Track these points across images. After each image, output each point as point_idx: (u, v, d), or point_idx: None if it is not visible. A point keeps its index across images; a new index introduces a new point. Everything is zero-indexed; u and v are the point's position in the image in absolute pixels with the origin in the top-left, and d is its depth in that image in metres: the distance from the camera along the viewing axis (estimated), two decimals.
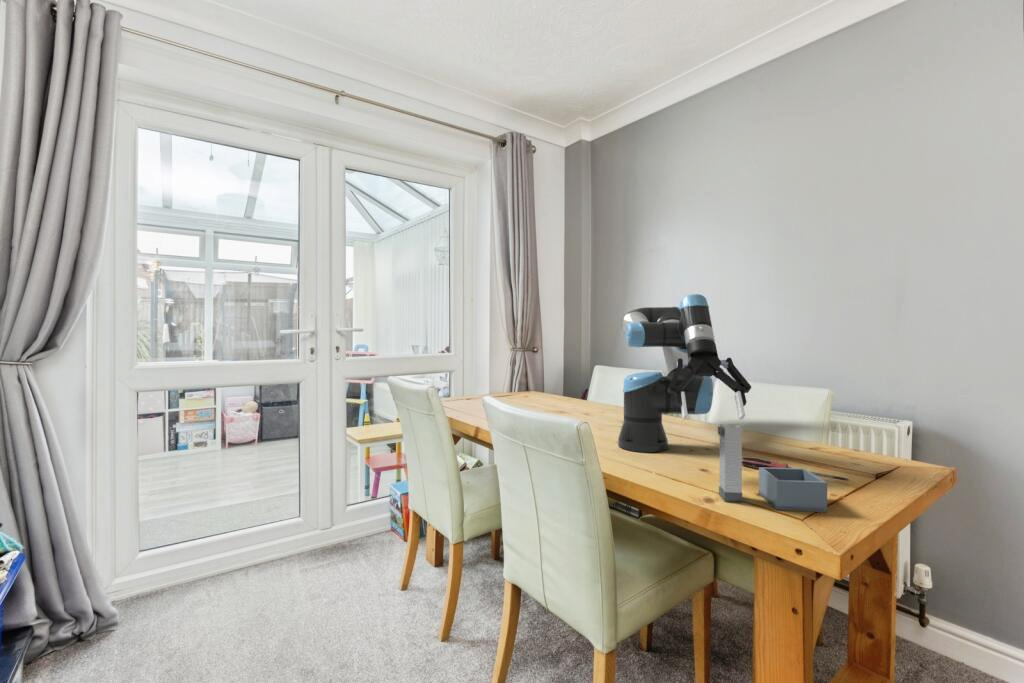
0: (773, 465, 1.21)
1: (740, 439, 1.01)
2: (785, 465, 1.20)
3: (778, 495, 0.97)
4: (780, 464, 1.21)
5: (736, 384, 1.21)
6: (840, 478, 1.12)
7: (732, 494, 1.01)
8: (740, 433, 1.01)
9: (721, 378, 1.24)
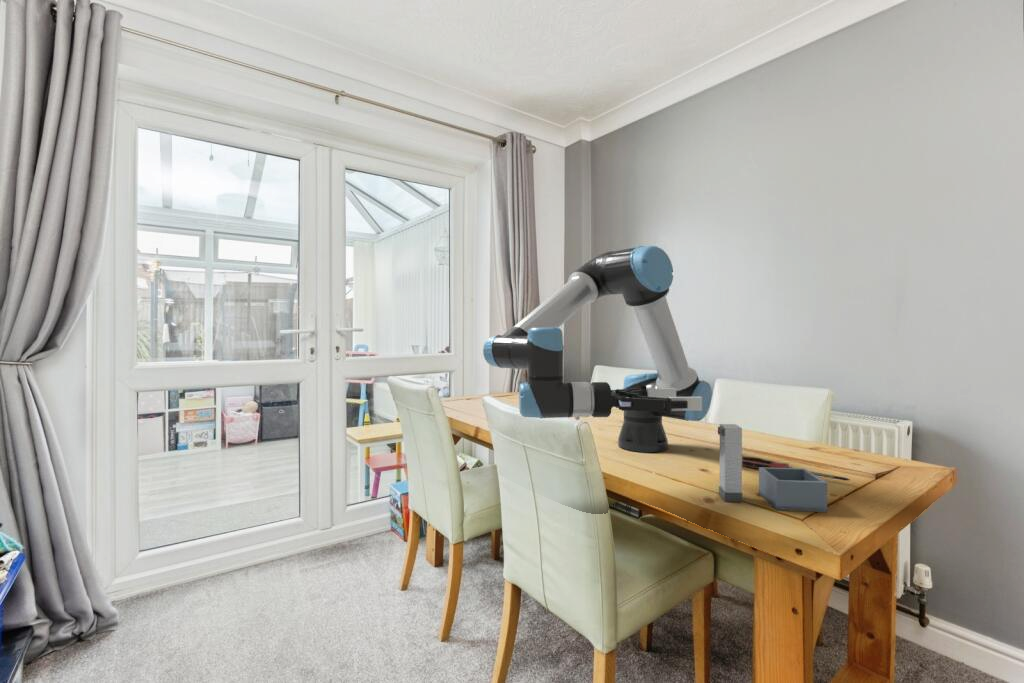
0: (773, 465, 1.21)
1: (740, 439, 1.01)
2: (785, 465, 1.20)
3: (778, 495, 0.97)
4: (780, 464, 1.21)
5: None
6: (841, 478, 1.12)
7: (732, 494, 1.01)
8: (740, 433, 1.01)
9: None
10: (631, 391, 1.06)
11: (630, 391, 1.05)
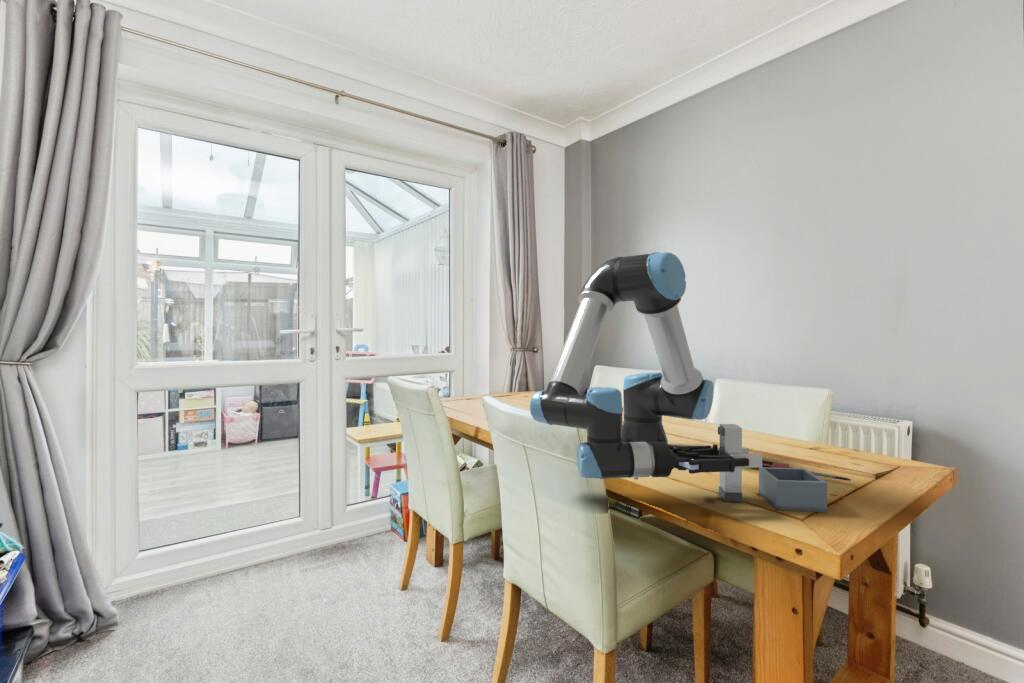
0: (774, 466, 1.21)
1: (740, 439, 1.01)
2: (787, 465, 1.20)
3: (778, 495, 0.97)
4: (781, 465, 1.21)
5: None
6: (842, 478, 1.12)
7: (732, 494, 1.01)
8: (740, 433, 1.01)
9: None
10: (694, 450, 1.05)
11: (692, 450, 1.05)
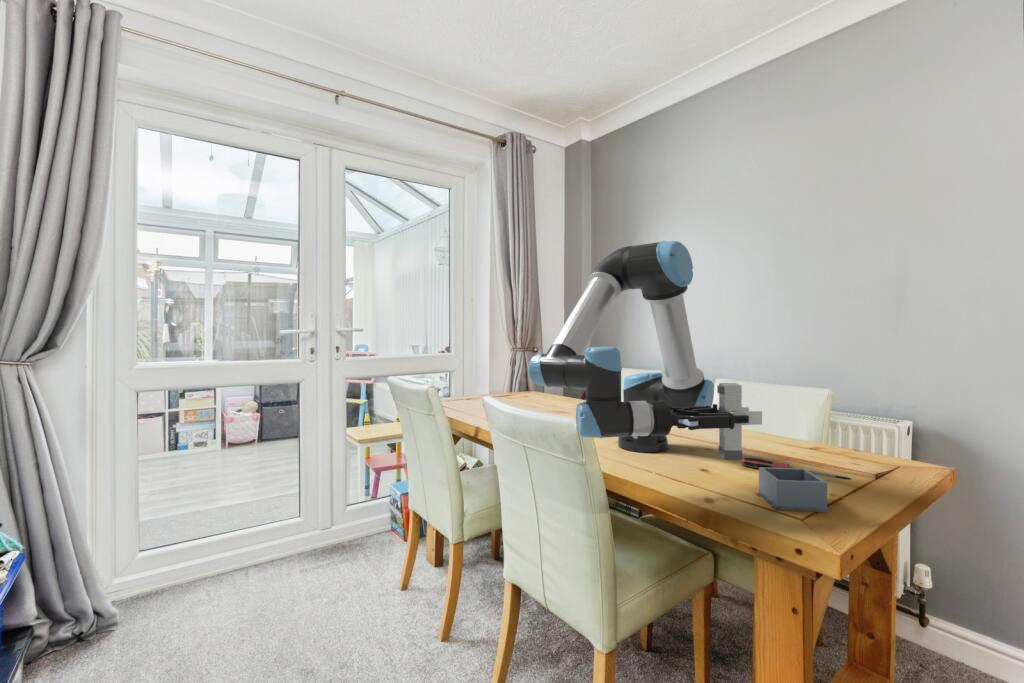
0: (775, 465, 1.21)
1: (740, 397, 1.00)
2: (787, 465, 1.20)
3: (778, 495, 0.97)
4: (782, 464, 1.21)
5: None
6: (842, 477, 1.12)
7: (732, 452, 1.01)
8: (740, 390, 1.00)
9: None
10: (693, 409, 1.04)
11: (691, 409, 1.04)
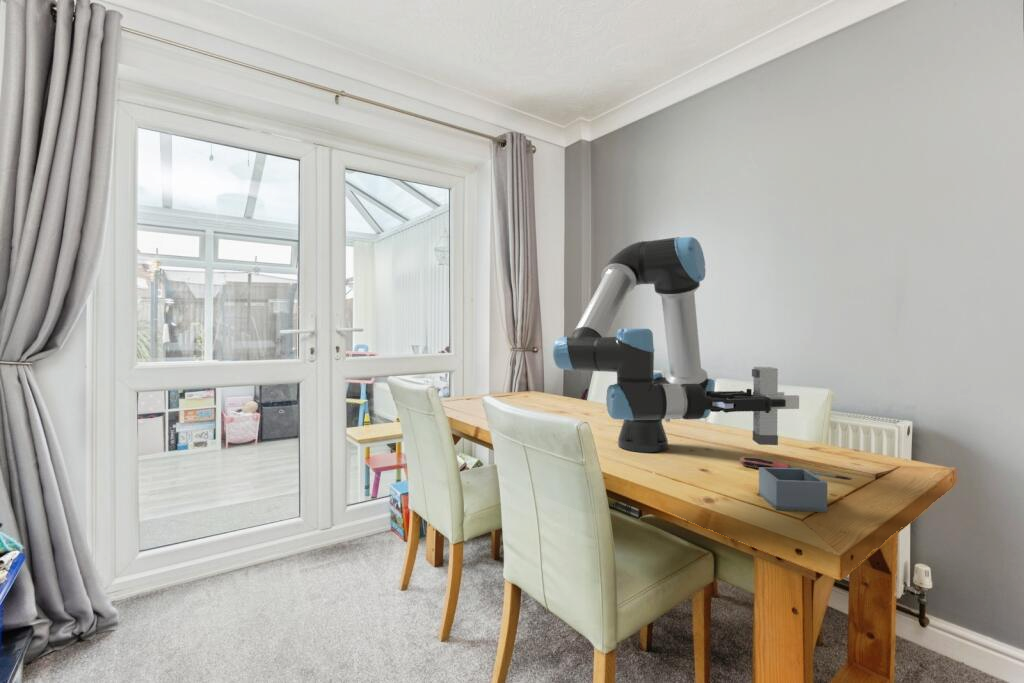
0: (775, 465, 1.21)
1: (776, 380, 0.98)
2: (787, 465, 1.20)
3: (778, 495, 0.97)
4: (782, 464, 1.21)
5: None
6: (842, 477, 1.12)
7: (768, 436, 0.99)
8: (776, 374, 0.98)
9: None
10: (727, 394, 1.02)
11: (725, 393, 1.02)
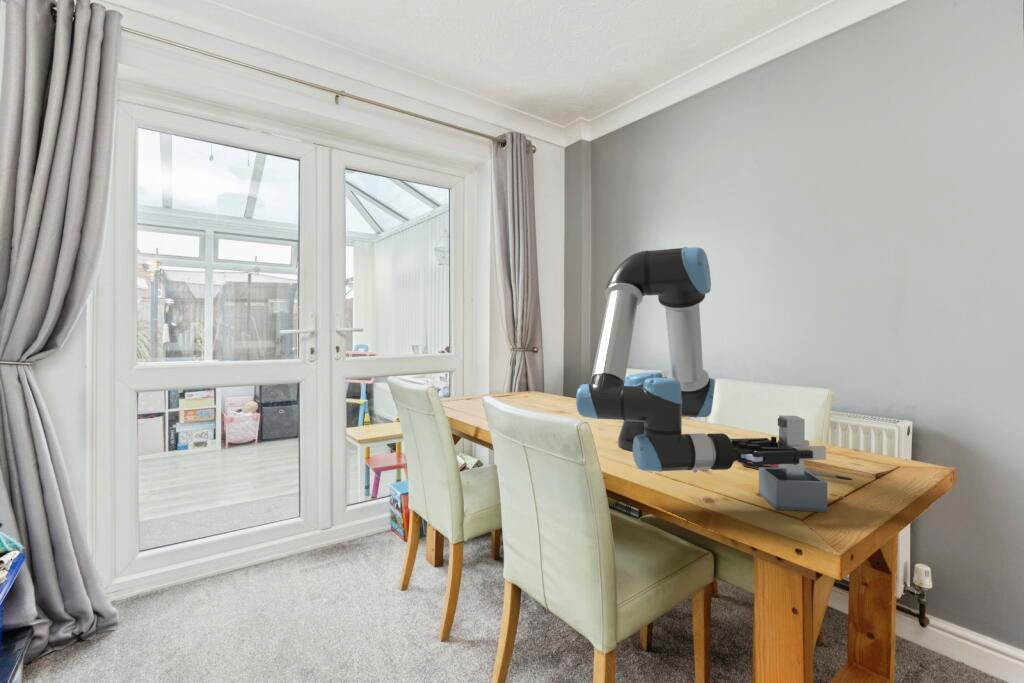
0: (776, 466, 1.21)
1: (803, 431, 0.98)
2: None
3: (778, 495, 0.97)
4: None
5: None
6: (843, 478, 1.12)
7: None
8: (803, 424, 0.98)
9: None
10: (753, 442, 1.02)
11: (751, 443, 1.02)
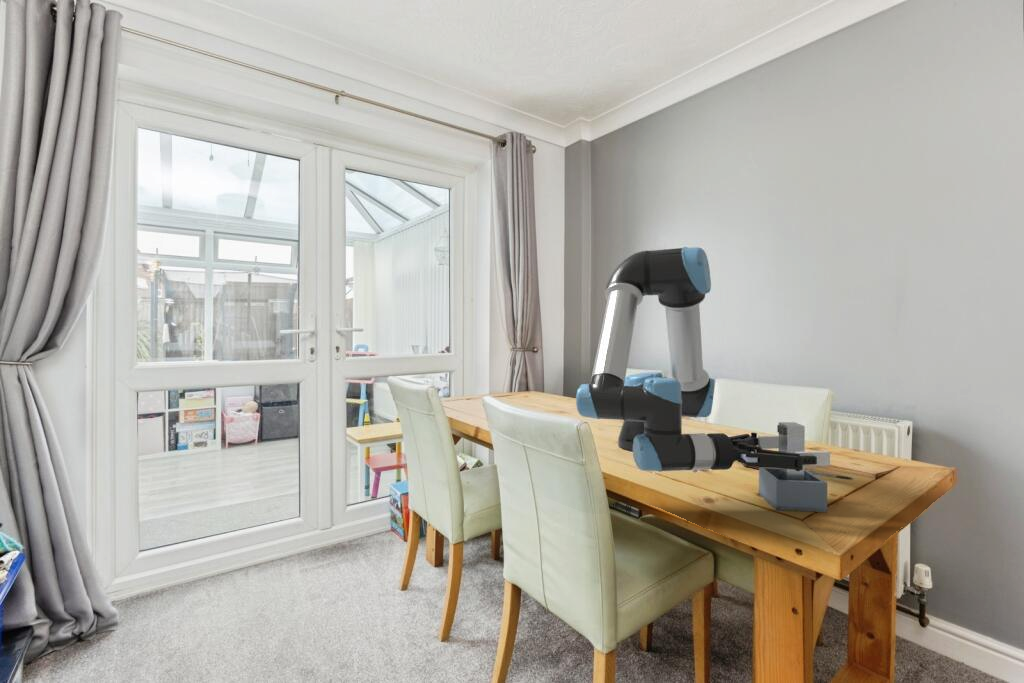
0: None
1: (803, 438, 0.98)
2: None
3: (778, 495, 0.97)
4: None
5: None
6: (844, 477, 1.13)
7: None
8: (803, 431, 0.98)
9: None
10: (745, 440, 1.04)
11: (745, 441, 1.03)
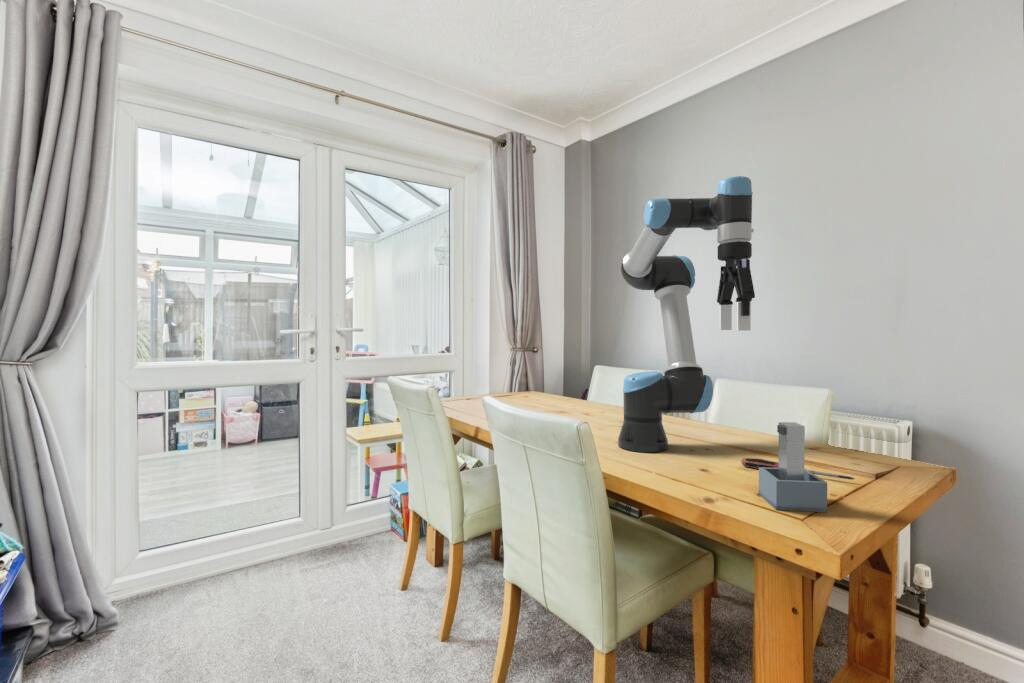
0: (777, 466, 1.21)
1: (803, 438, 0.98)
2: None
3: (778, 495, 0.97)
4: None
5: None
6: (845, 477, 1.13)
7: None
8: (803, 431, 0.98)
9: (728, 286, 1.19)
10: (734, 283, 1.12)
11: (732, 281, 1.12)
